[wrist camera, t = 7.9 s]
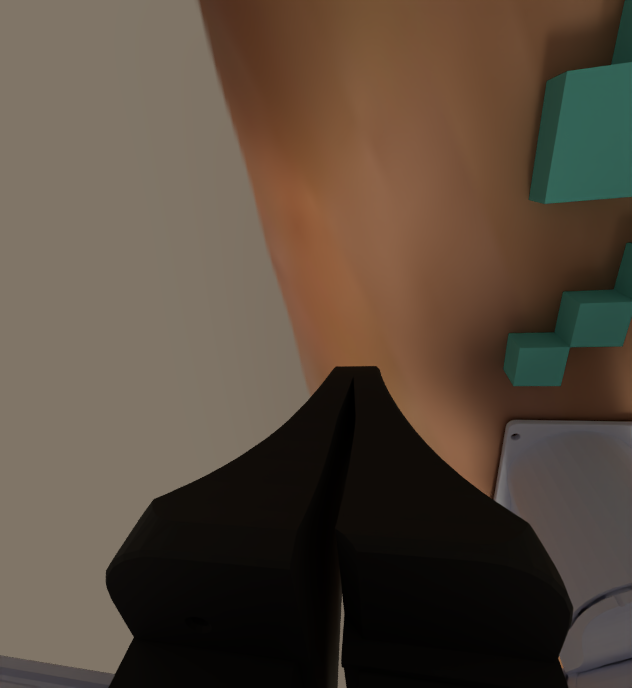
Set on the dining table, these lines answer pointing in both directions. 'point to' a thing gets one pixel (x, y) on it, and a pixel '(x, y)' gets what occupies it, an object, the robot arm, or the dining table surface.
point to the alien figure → (579, 185)
